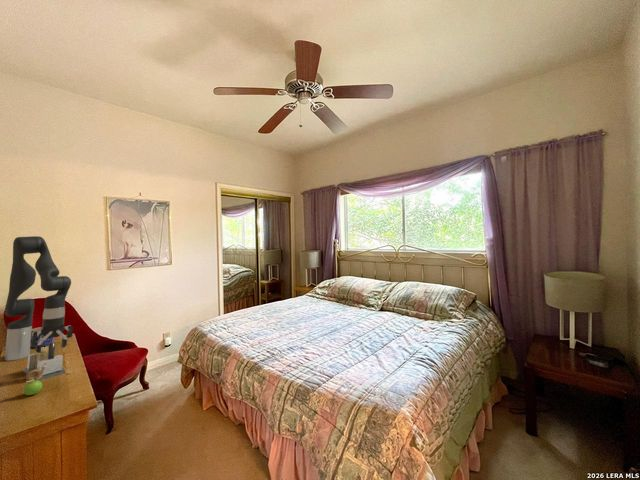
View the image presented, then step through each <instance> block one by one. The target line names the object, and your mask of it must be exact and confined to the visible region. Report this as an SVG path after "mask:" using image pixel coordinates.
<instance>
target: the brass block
mask: <svg viewBox="0 0 640 480" xmlns="http://www.w3.org/2000/svg"><path fill="white" fill-rule="evenodd" d="M48 349H49V345H48V346H45V347H41V353H37V352H36V351H35V353H36V360H35V369H37V362H38V360H41V359H45V358H48Z"/></svg>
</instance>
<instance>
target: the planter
mask: <svg viewBox="0 0 640 480" xmlns="http://www.w3.org/2000/svg"><path fill="white" fill-rule="evenodd" d="M41 330H42V326H41V327H39V326H38V327H36V328H32V332H33V331H35V332H37V331H41ZM31 336H32V333H31ZM41 336H42V334H41V333H40V334H39V335H38V336H37V338H36V342H37V341H38V340H39V339H40V337H41ZM54 340H55V337H52V338H47V339H46V340H45V341H43V342H42V344H41V348H42V347H44V346H45V347H46V346H48V347H49V343H52V342H54ZM30 348H33V349H36V345H32V344H31V345H30Z"/></svg>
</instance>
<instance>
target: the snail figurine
mask: <svg viewBox="0 0 640 480" xmlns="http://www.w3.org/2000/svg"><path fill="white" fill-rule="evenodd" d="M44 364H47V363H46V362H45V363H44ZM45 368H46V366H45V365H44V366H42V370H41V371H40V370H38V369H35V370H32V371H30V372H28V373H27V374H25V380H26V381H25V383H26V385H25V386H24V388H23V390H22V391H23V394H24V395H26V396H33V395H36V394H38V393H39V392H40V391H41V390H42V388H43V382H41V380H39V379H40V378H41V377H42V376H43V374H44V372H45ZM37 380H39V381H37Z"/></svg>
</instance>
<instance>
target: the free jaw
mask: <svg viewBox="0 0 640 480" xmlns="http://www.w3.org/2000/svg"><path fill="white" fill-rule="evenodd" d="M48 347H49V349H48V358H45V359H41V360H38V362H37V369H38V370H40V371H41V370H42V366H44V365H45V366H46V368H45V372H44V374H43V375H45V374H49V373H52V372H56V371H59V370H62V368H63V364H64V363H63V360H64V359H63V358H64V355H62V354H58V355H56V354H55V350H56V341H55V342H54V341H53V342H52V343H49V345H48ZM45 362H46V363H47V364H44V363H45Z"/></svg>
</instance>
